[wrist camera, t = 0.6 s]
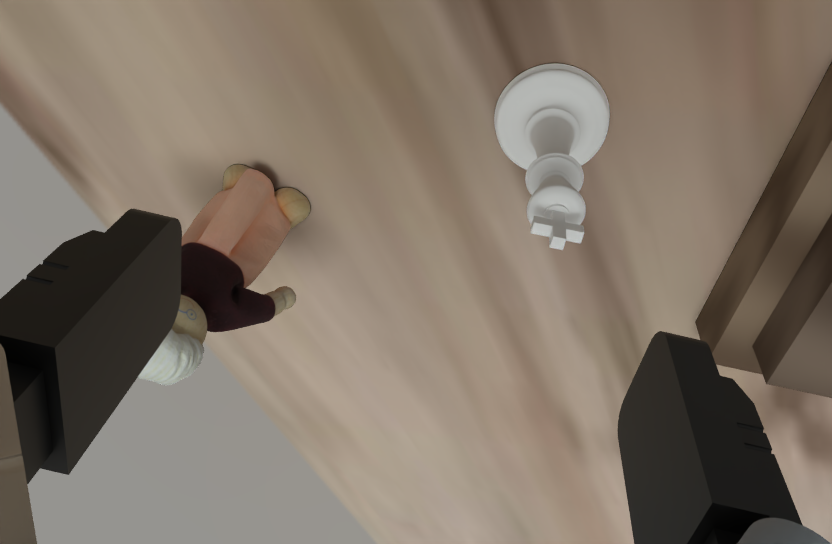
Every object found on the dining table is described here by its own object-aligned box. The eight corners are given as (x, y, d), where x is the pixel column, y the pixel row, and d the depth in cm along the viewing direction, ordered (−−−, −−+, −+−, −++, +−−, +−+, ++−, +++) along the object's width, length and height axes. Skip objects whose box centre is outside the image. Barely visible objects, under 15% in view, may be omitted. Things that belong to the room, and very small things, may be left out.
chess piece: (589, 179, 33) (608, 316, 25) (483, 157, 33) (467, 287, 25) (625, 75, 30) (660, 193, 22) (508, 52, 30) (500, 160, 22)
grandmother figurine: (337, 186, 35) (256, 364, 24) (320, 248, 37) (239, 435, 27) (182, 135, 34) (33, 295, 24) (175, 201, 36) (35, 373, 26)
